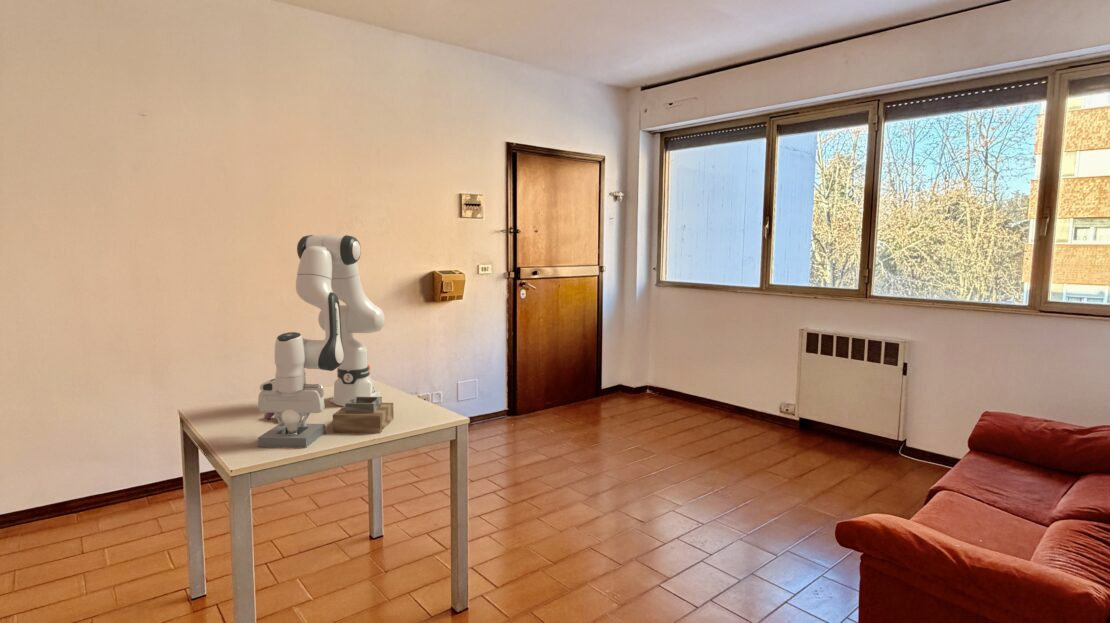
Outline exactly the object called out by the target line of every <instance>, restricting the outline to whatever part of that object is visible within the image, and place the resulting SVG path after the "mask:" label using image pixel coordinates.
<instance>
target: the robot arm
mask: <svg viewBox="0 0 1110 623" xmlns="http://www.w3.org/2000/svg"><path fill="white" fill-rule="evenodd" d="M361 250H362V248H361V243H360V242H359V240H358V239H357V238H356V237H355V236H353V235H352V236H351V235H347V234H346V235H343V234H333V233H332V234H317V235H314V234H309V235H303V236H302V237H301V238H300V239H299V240H298V241H297V245H296V253H297V256H298V258H299V264H298V267H297V271H296V279H295V280H296V281H295V291H296V294H297V295H298V297H299V298H300V299H301V300H302V301H303V302H306V303H307V304H310V305H311V306H314V307H315V308H318V309H319V310H320V311H319V313H318V317H317V321H318V325H319V326H320V328H321V329H322V330H323V331H324V332H325V338H324V340H323V339H321V340H320V339H306V338H304V337H303V334H301V333H300V332H295V331H290V332H285V333H281V334H279V335H278V336H277V337H276V339H275V344H274V364H275V367H276V371H275V375H274V376H275V377H274V378H273V379H270V380H267V381H265V382H263V383H261V384H260V385H259V390H260V391H259V394H258V399H257V400H258V401H257V407H258V411H259V412H260V413H267V412H269V413H274V415H273V417H274V416H275V417H274V419H276V420H277V425H278V426H284V425H285V424H284V423H283V421H282V419H281V415H280V414H282V413H283V412H284V411H285V410H293V411H295V412H296V413H303V418H302V420H301V421H300V426H306V424H308V422H307V420H308V419H309V417H310V415H311V414H320V413H321V412H323V411H324V410H325V399H324V387H323V386H322V385H320V384H319V383H318V384H317V383H315V384H313V383H307V380H306V379H307V378H306V370H305V369H308V370H311V369H312V370H321V371H330V372H333V371H335V370H337V371H336V374H337V379H335V381H334V383H333V386H334V387H333V397H332V398H330V400H329V401H330V403H333V404H335V405H337V406H340V407H344V406H345V404H346V403H347V402H348V401H350V400H351V399H352V398H354V397H381V395H382V392H381V391H380V390H376V381H375V380H374V379H373V378H372V377H371V375H370V374H371V373H370V371H371V365H370V364H368V348H367V347H366V345H365V344H364V343H363V342H360V341H359V340H357V339H356V338H355V336H354V334H371V333H376V332H381V330H382V328H384V325H385V323H386V316H385V314H384V311H383V309H381V308H380V306H377V305H376V304H374V303H373V302H372V301H371V300H370V299H369V297H368V296H367V294H366V293H365V291H364V288H363V284H362V281H361V275H360V269H359V265H358V261H359V260H360V258H361V254H362V251H361ZM340 301H341V302H342V303H344V304H340ZM380 394H381V395H380Z"/></svg>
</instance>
